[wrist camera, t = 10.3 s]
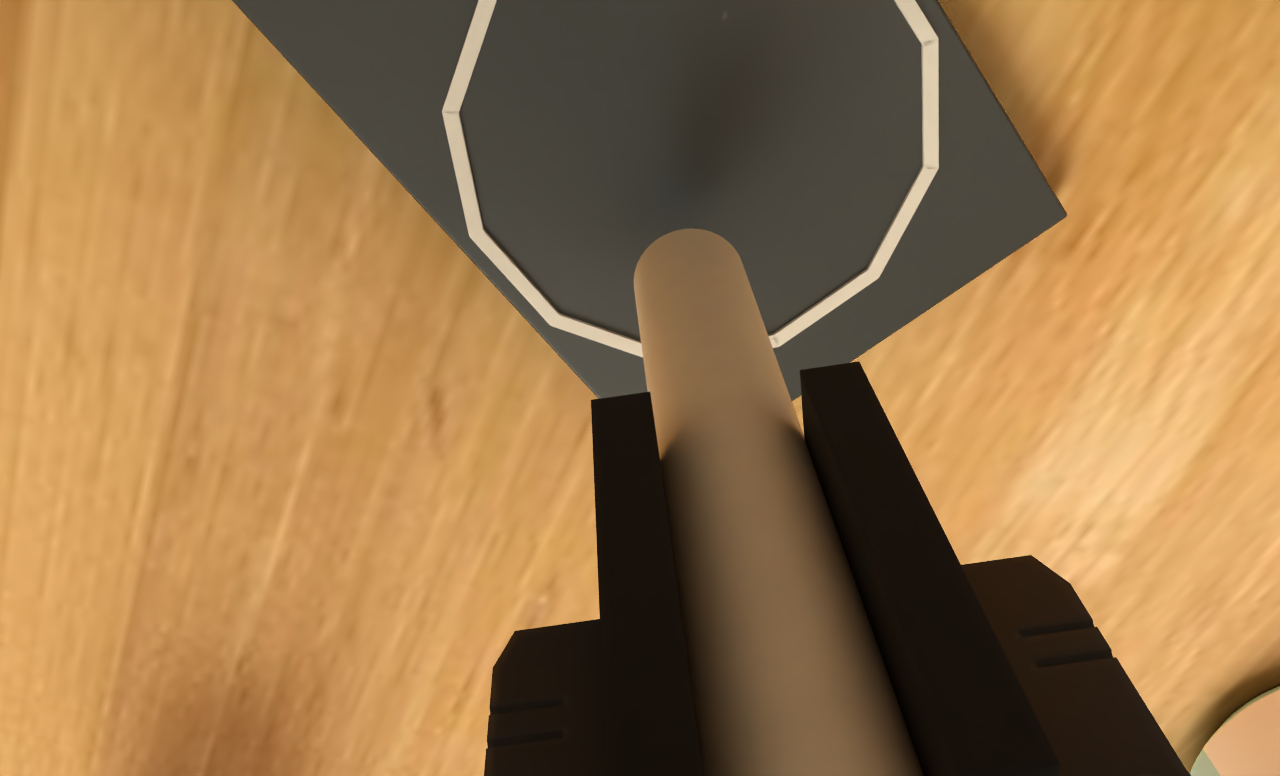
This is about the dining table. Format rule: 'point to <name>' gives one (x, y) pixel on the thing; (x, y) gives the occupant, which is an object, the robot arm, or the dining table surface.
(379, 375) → the dining table surface
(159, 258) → the dining table surface
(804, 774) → the marker
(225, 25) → the dining table surface
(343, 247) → the dining table surface
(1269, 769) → the can
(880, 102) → the slate
